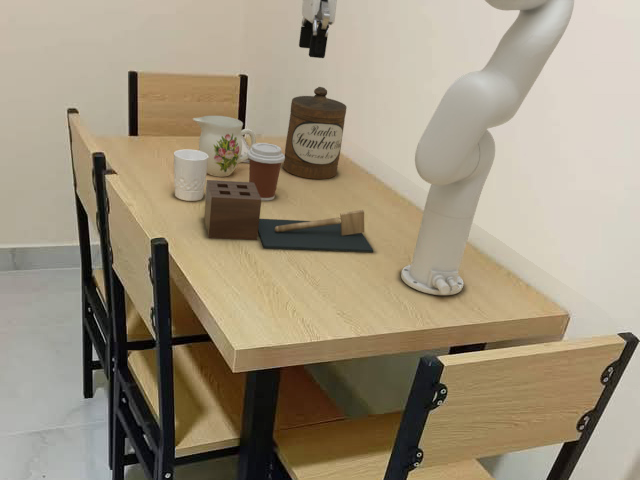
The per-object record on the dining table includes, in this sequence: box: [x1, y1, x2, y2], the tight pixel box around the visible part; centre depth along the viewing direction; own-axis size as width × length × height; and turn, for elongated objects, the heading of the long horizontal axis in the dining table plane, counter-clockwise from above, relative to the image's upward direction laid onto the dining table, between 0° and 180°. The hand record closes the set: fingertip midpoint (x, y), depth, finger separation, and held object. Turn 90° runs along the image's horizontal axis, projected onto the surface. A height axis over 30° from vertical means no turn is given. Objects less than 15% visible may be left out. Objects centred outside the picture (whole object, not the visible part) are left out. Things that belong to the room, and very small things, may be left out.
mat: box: [258, 218, 374, 253], centre depth 163 cm, size 15×24×1 cm, turn 100°
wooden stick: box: [275, 209, 365, 236], centre depth 162 cm, size 1×5×20 cm
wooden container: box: [282, 86, 347, 180], centre depth 197 cm, size 15×15×22 cm
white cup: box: [173, 148, 208, 202], centre depth 172 cm, size 8×8×10 cm
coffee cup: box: [247, 142, 285, 202], centre depth 178 cm, size 9×9×12 cm
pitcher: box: [192, 115, 257, 177], centre depth 189 cm, size 11×18×14 cm, turn 119°
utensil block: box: [203, 179, 262, 241], centre depth 159 cm, size 10×10×9 cm
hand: (311, 52), depth 151 cm, fingers open, 9 cm apart
